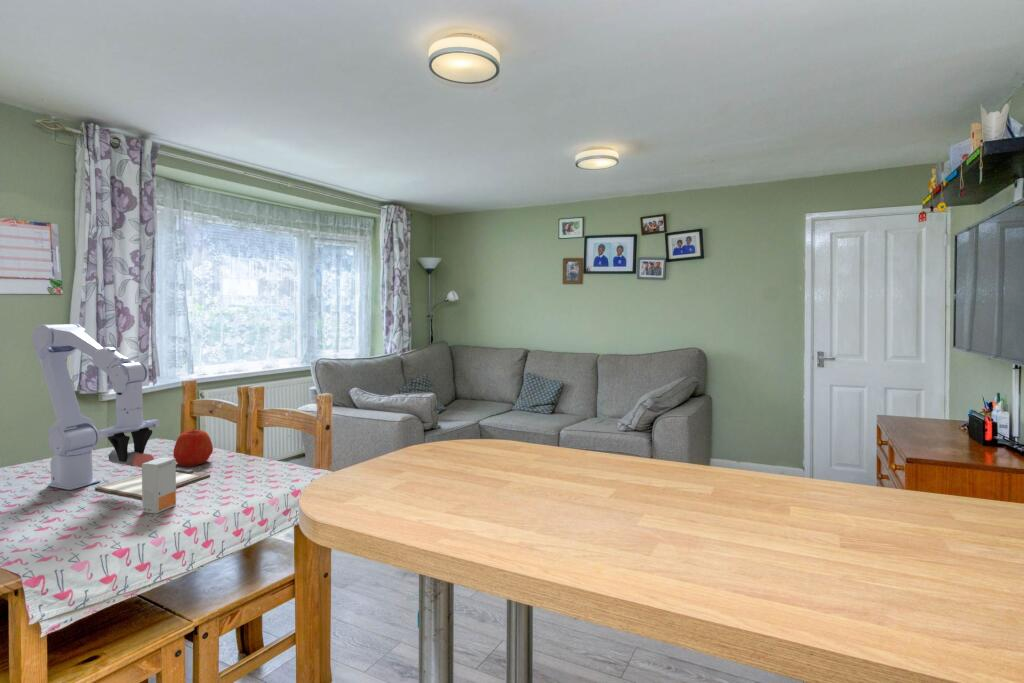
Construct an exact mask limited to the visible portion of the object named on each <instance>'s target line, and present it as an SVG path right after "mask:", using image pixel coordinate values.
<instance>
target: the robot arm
mask: <svg viewBox="0 0 1024 683" xmlns="http://www.w3.org/2000/svg"><path fill="white" fill-rule="evenodd" d="M30 339H31V341H32V342H31V343H32V346H33V349H34V352H35V356H36V358H38V361H39V364H40V368H41V370H42V374H43V378H44V381H45V384H46V387H47V391H48V394H49V398H50V401H51V406H52V409H53V411H54V415H55V418H56V421H55V422H53V424H51V426H50V427H49V428H48V429H47V432H48V446H49V449H50V451H51V452H52V453H53V454H54V455H53V456H52V458H51V460H50V463H49V464H50V483H47V486H48V487H52V488H58V489H63V490H67V491H70V490H71V491H72V490H77V489H80V488H82V487H86V486H90V485H93V484H96V483H99V482H102V481H101V479H99V478H95V477H93V476H94V473H93V451H94V450H95V448H96V446H97V445H98V444H99V442H100V439H107V440H108V441H109V442H110V443H111V446H112V447H113V449H114V450H115V451H116V453H117V456H118V459H119V461H121V462H126V461H127V451H128V446H129V442H130V438H131V437H132V442H133V452H138V453H144V454H145V450H146V447H147V443H148V441H149V440H150V437H151V436H152V435H153V430H152V428H159V427H160V419H156V418H155V419H154V418H153V419H147V420H144V416H143V415H144V410H143V405H144V403H143V402H144V401H143V383H144V382H145V381H146V380H147V378H148V369H147V366H146V365H145V364H144V363H143V362H142V361H141V360H135V361H134V360H130V359H129V357H127V356H124V355H123V354H122V353H120V352H119V351H117V349H116V348H115V347H113V346H112V347H109V346H105V347H103V346H101V344H100V343H98V342H97V341H95V339H93V338H92V337H91V336H90V335H88V333H87V330H86V328H85V327H83V326H81V324H79V323H76V322H75V323H66V324H64V323H62V324H61V323H59V324H44V323H43V324H41V323H40V324H38V325H36V327H35V328H34V329H33V330H32V333H31V335H30ZM77 350H78V351H80V352H82V353H83V354H84V355H87V356H89V357H90V358H91V359H92V360H91V361H92V364H93V365H94V366H95V367H97V368H99V370H101V371H103V372H104V373H106V374H107V375H108V377H109V381H110V383H111V384H112V389H113V392H114V393H115V409H116V410H115V411H116V413H115V414H116V415H115V416H116V417H115V418H116V425H112V426H109V427H105V428H103V429H97V427H96V426H95V425H94V424H95V423H94V421H93V419H92V418H90V417H88V416H85V415H83V414H82V411H81V409H80V405H79V402H78V397H77V396H76V392H75V389H74V385H73V382H72V379H71V375H70V372H69V369H68V365H67V362H66V360H67V358H68V357H69V356H71V355H73V353H75V352H76V351H77ZM128 433H130V434H131V436H128V435H126V434H128Z"/></svg>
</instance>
